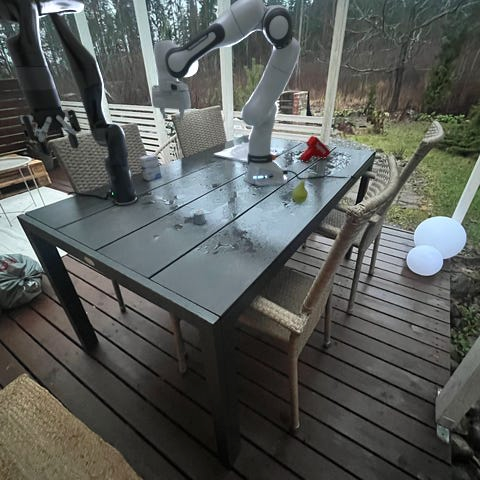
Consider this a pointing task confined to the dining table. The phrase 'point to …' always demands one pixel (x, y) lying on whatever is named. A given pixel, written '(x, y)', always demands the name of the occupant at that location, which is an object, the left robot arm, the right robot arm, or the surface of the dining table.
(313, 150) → the toy gun
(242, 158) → the relief map
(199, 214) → the tin
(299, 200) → the fruit
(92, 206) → the dining table surface
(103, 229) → the dining table surface
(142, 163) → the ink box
